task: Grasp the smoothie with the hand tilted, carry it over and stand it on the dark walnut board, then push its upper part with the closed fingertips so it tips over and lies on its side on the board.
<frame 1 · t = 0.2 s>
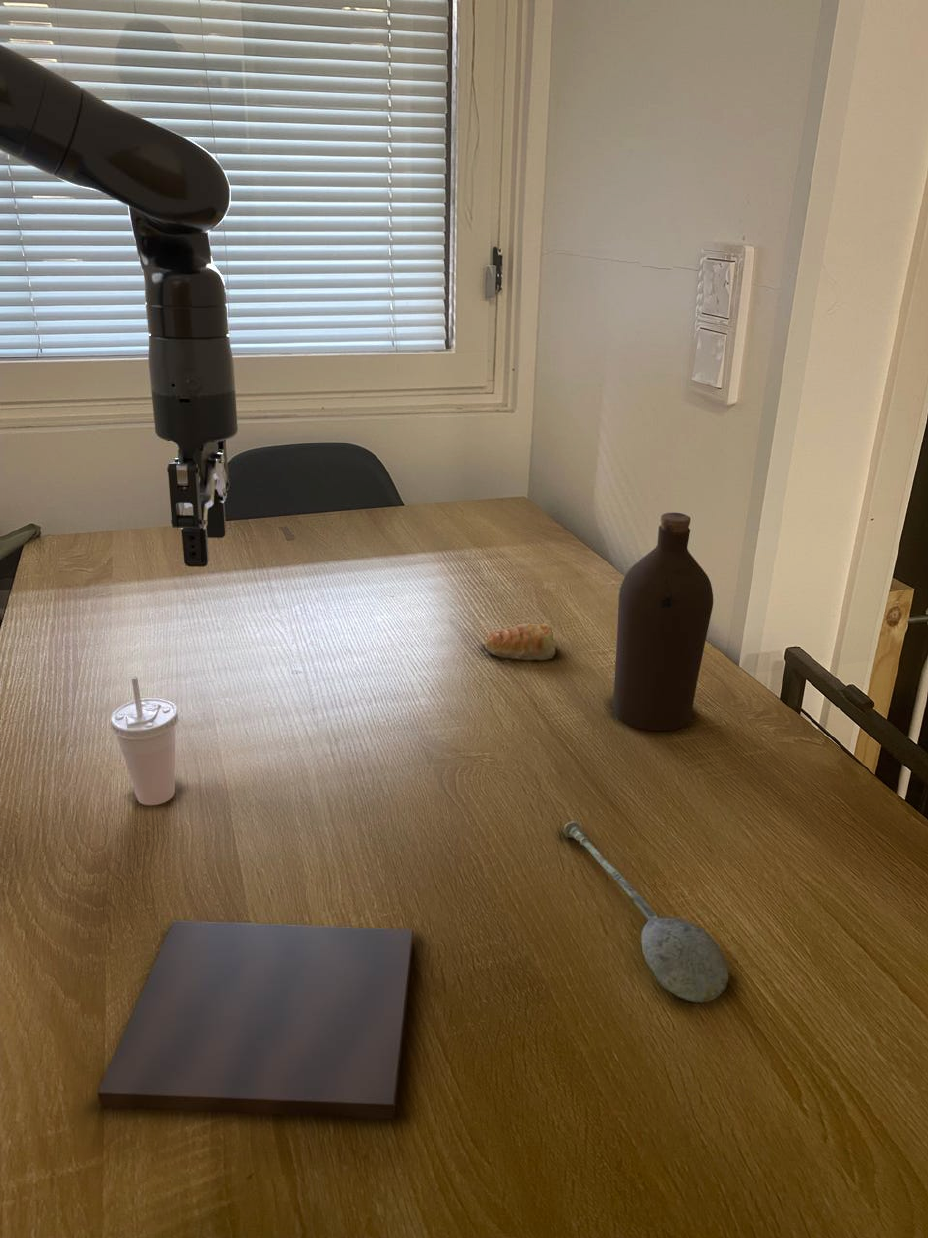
hand: (206, 550, 91), 24 cm above the table, tool pointing down, fingers open, 8 cm apart
board: (272, 1017, 69), on the table
olive oil: (651, 713, 111), on the table
pastry: (524, 653, 125), on the table
soupspoon: (632, 910, 80), on the table
smoothie: (156, 796, 94), on the table
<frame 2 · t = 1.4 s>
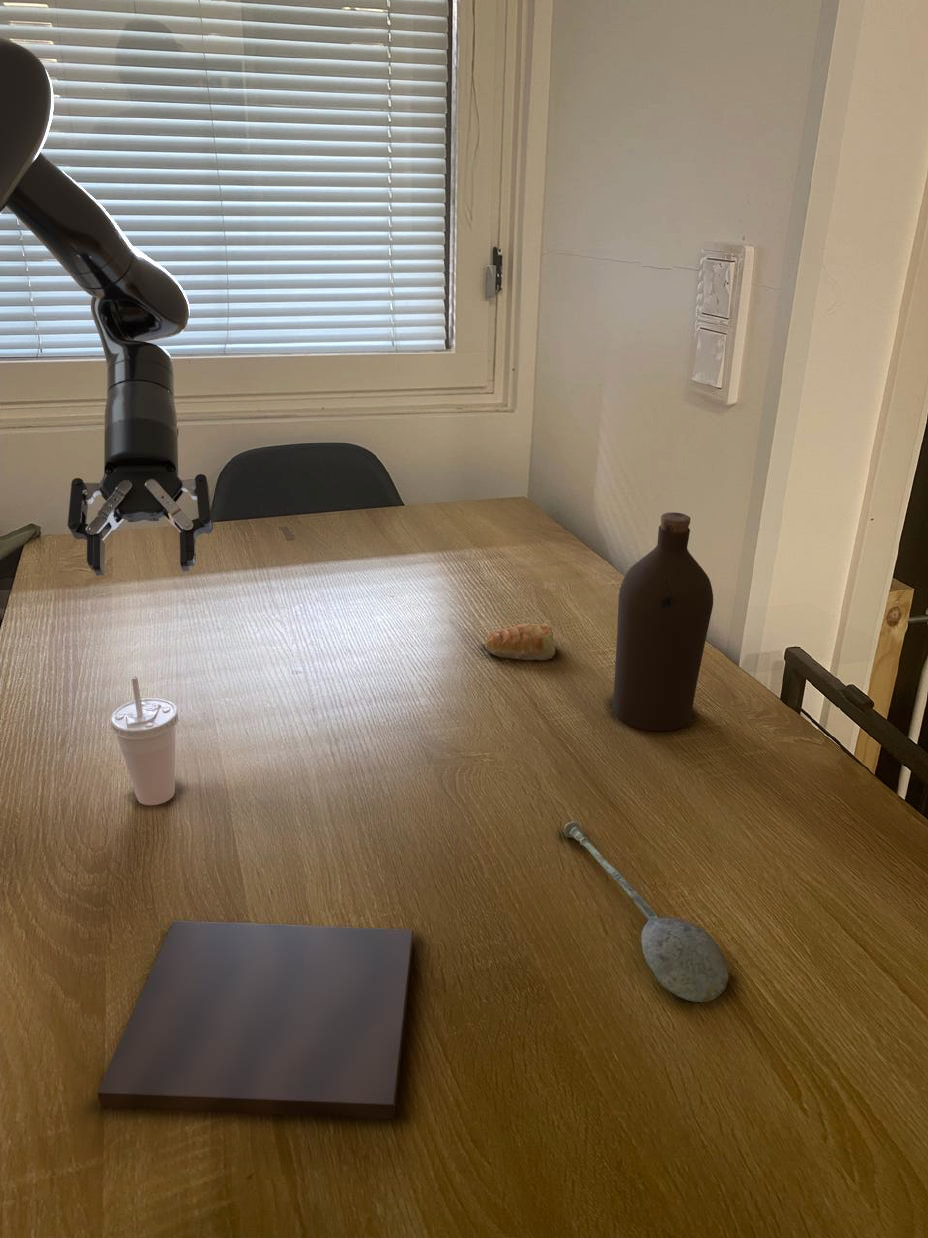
hand: (142, 570, 94), 21 cm above the table, tool tilted 45°, fingers open, 8 cm apart
nothing on the table moved.
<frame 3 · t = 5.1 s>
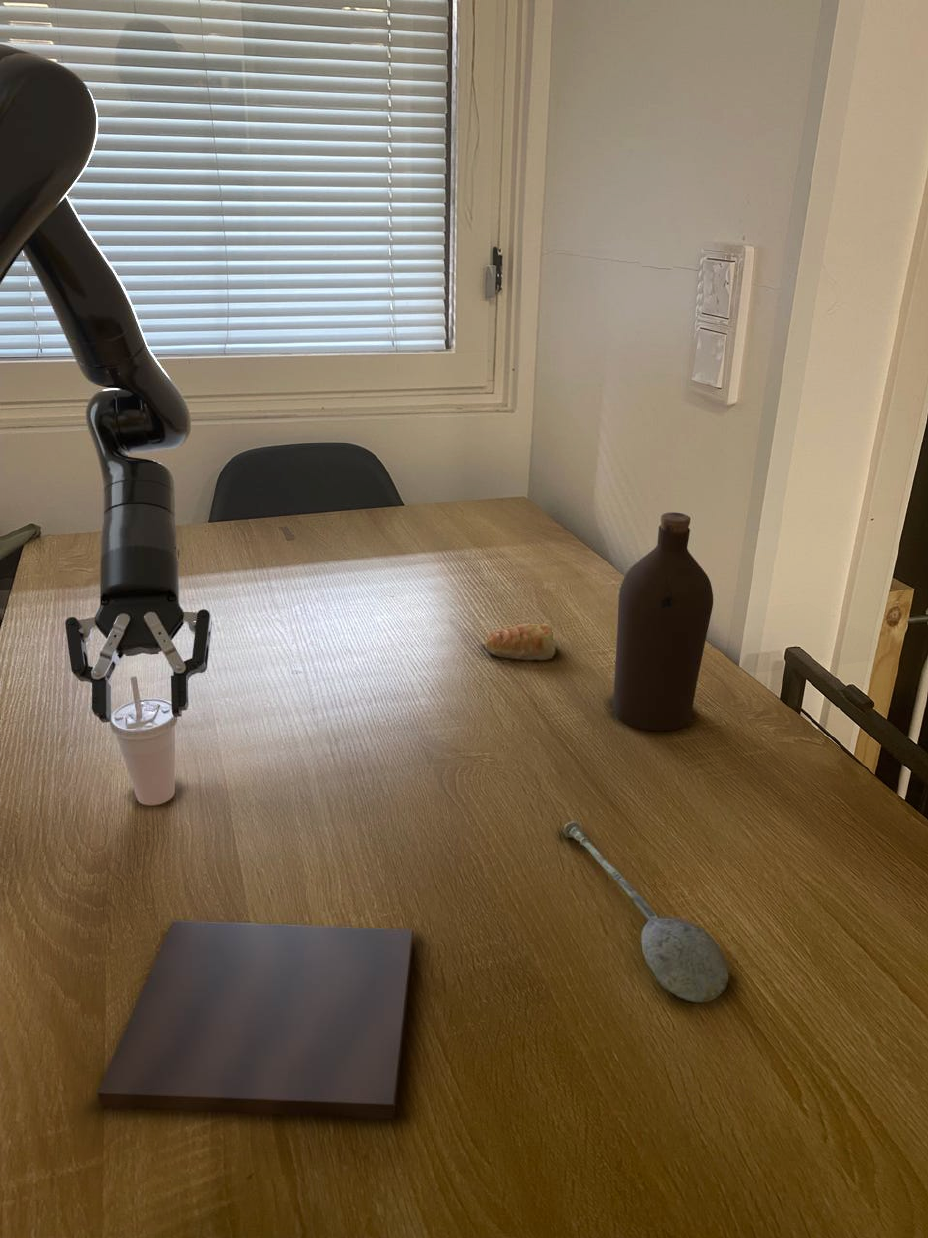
hand: (141, 717, 88), 10 cm above the table, tool tilted 45°, fingers closed on smoothie, 6 cm apart
smoothie: (156, 796, 94), on the table, touching gripper
everything else where it was.
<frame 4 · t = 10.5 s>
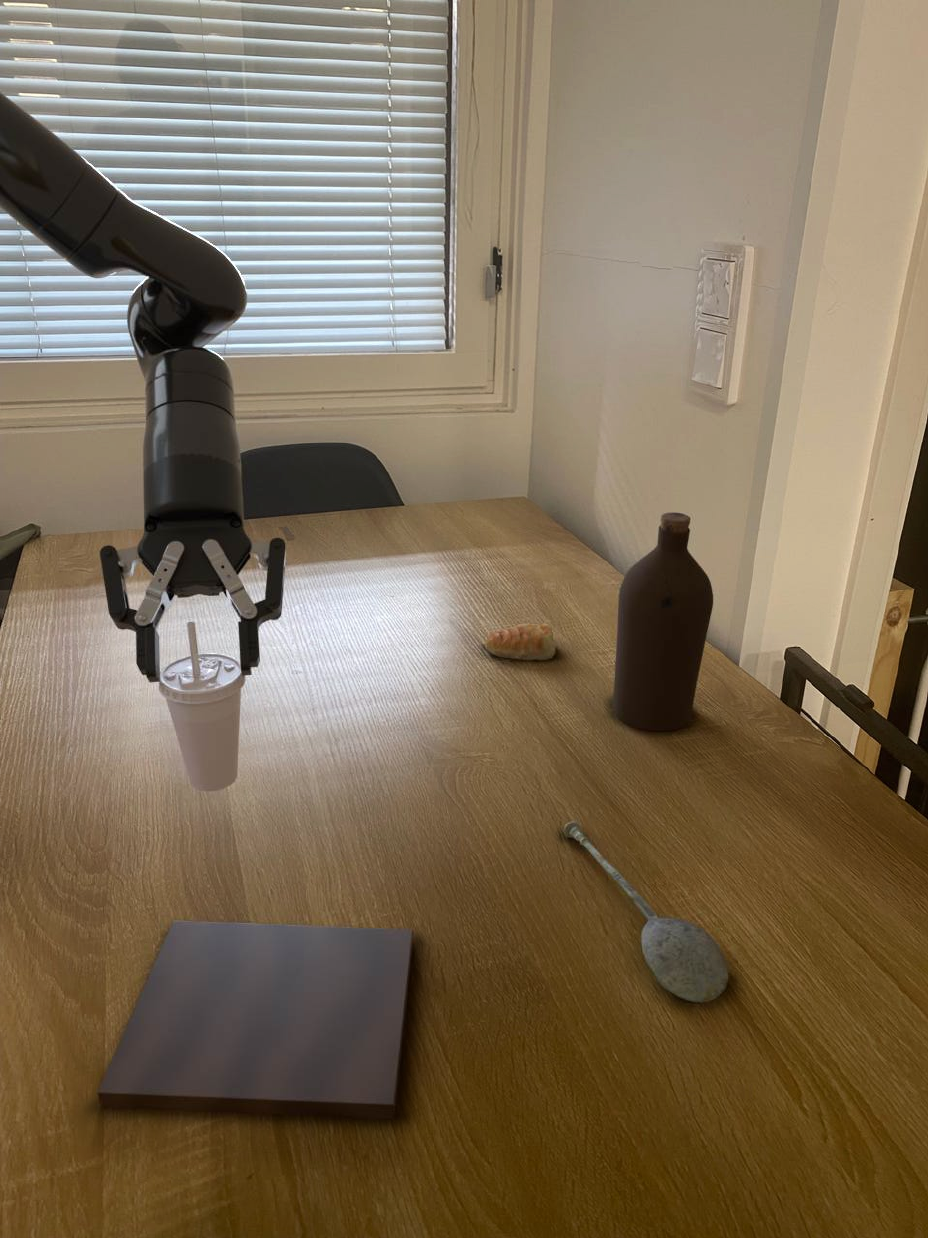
hand: (200, 675, 67), 24 cm above the table, tool tilted 45°, fingers closed on smoothie, 6 cm apart
smoothie: (214, 779, 73), point 14 cm above the table, touching gripper
everything else where it was.
when the fingers open (12 cm above the table, at t = 15.8 s): smoothie stays where it is, resting on board.
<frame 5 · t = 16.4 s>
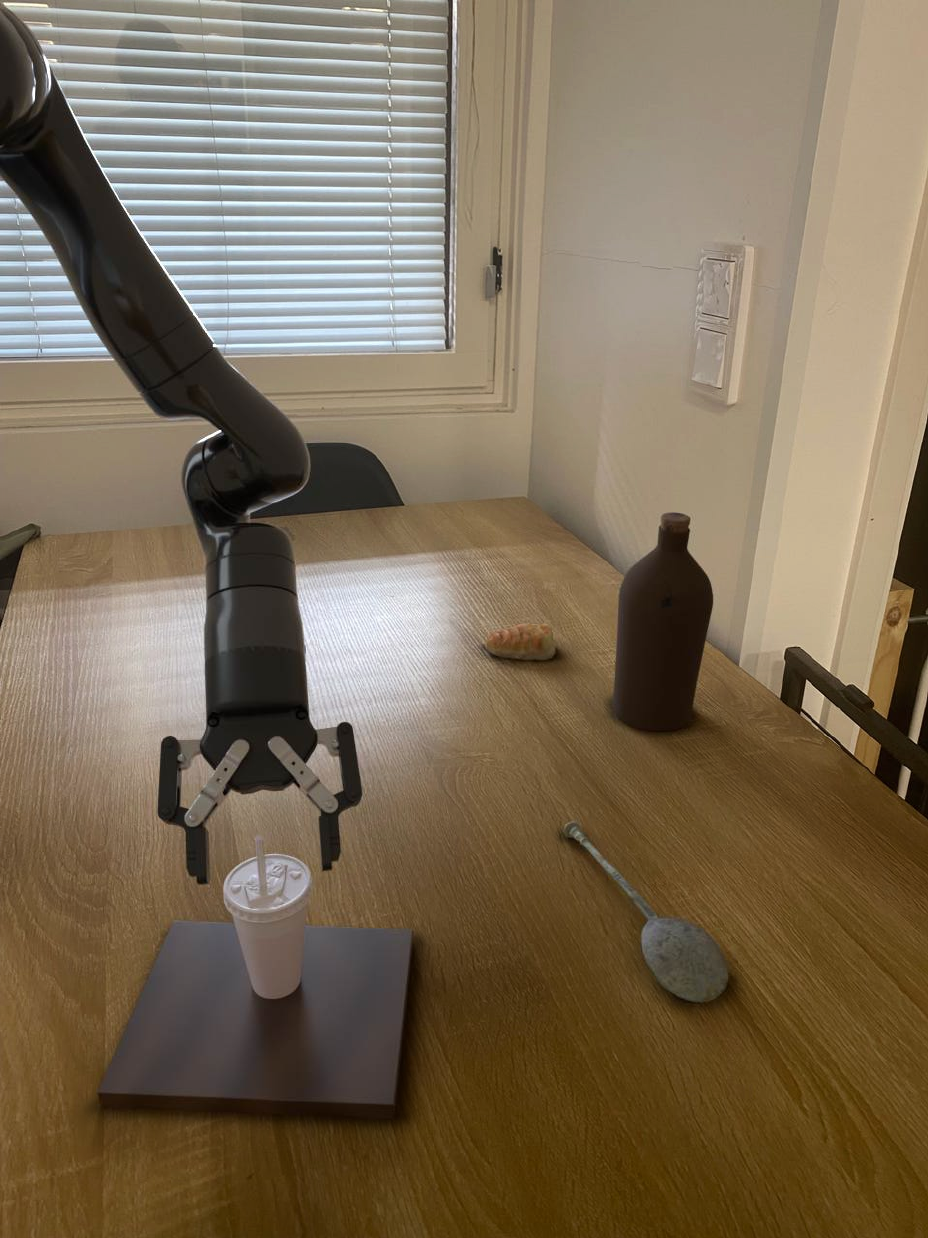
hand: (266, 877, 64), 13 cm above the table, tool tilted 45°, fingers open, 8 cm apart
smoothie: (276, 981, 70), point 1 cm above the table, touching board
everything else where it was.
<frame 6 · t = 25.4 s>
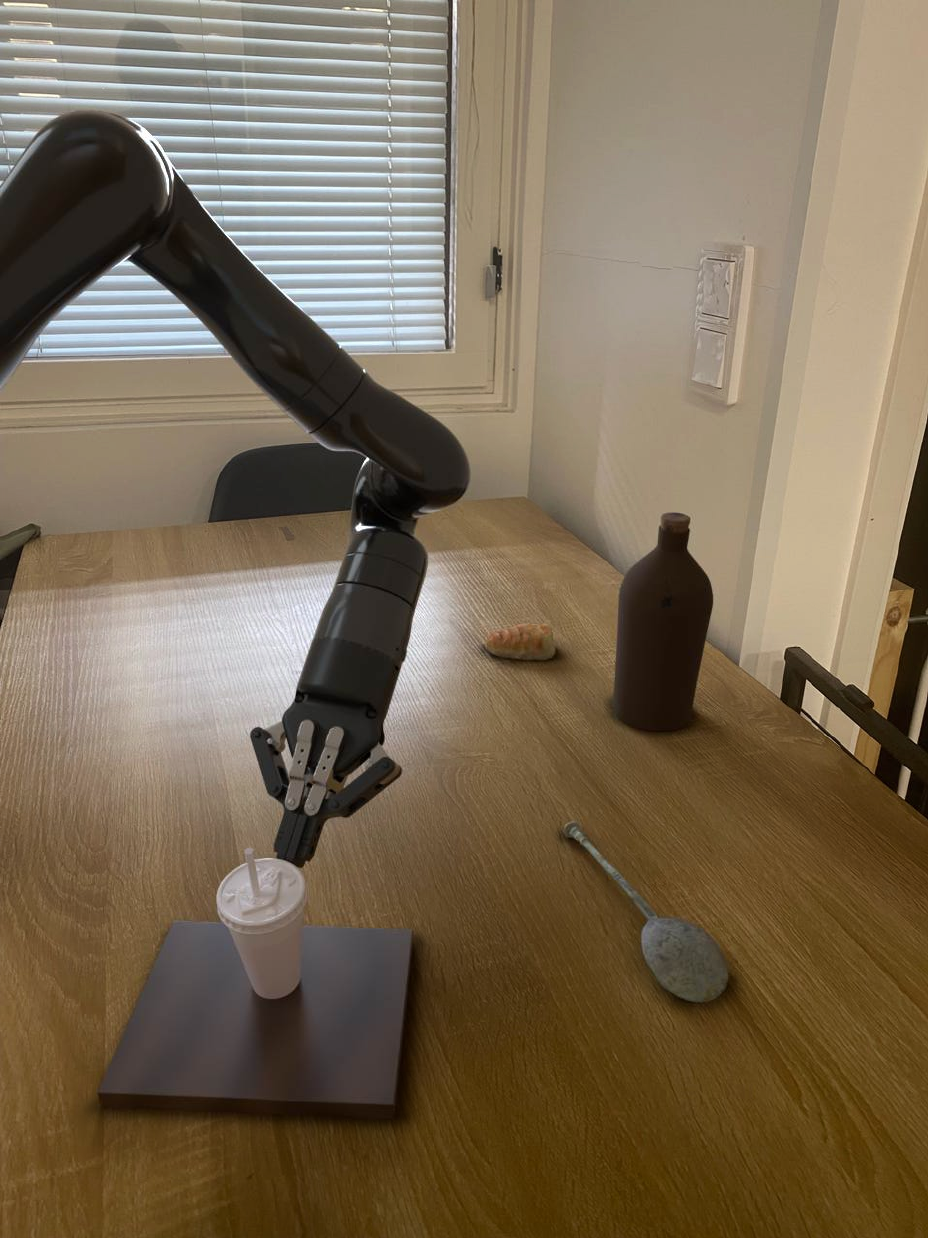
hand: (289, 864, 68), 11 cm above the table, tool tilted 45°, fingers closed
smoothie: (276, 980, 70), point 2 cm above the table, touching board, gripper
everything else where it was.
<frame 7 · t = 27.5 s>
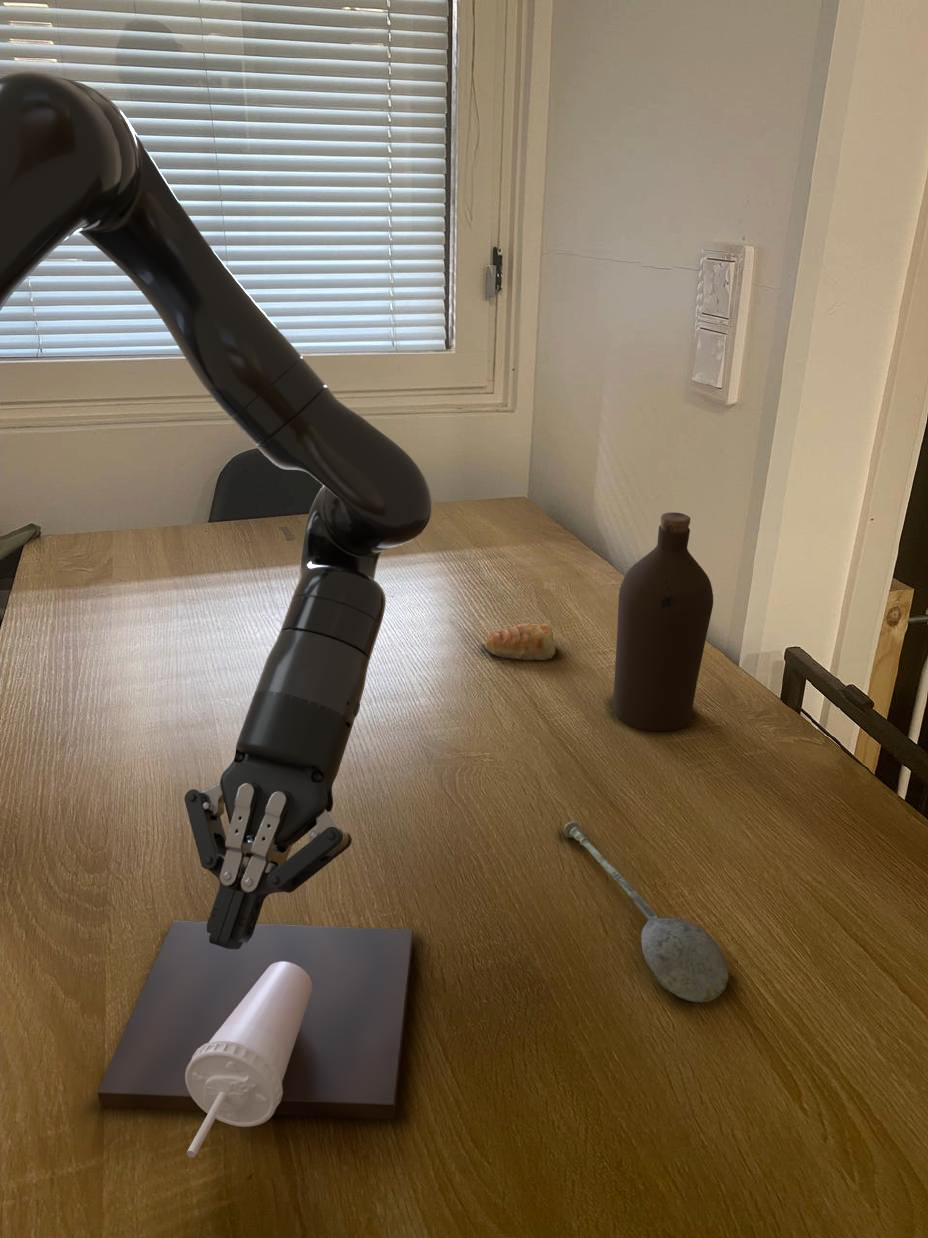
hand: (224, 946, 61), 10 cm above the table, tool tilted 45°, fingers closed
smoothie: (289, 980, 67), point 4 cm above the table, touching board
everything else where it was.
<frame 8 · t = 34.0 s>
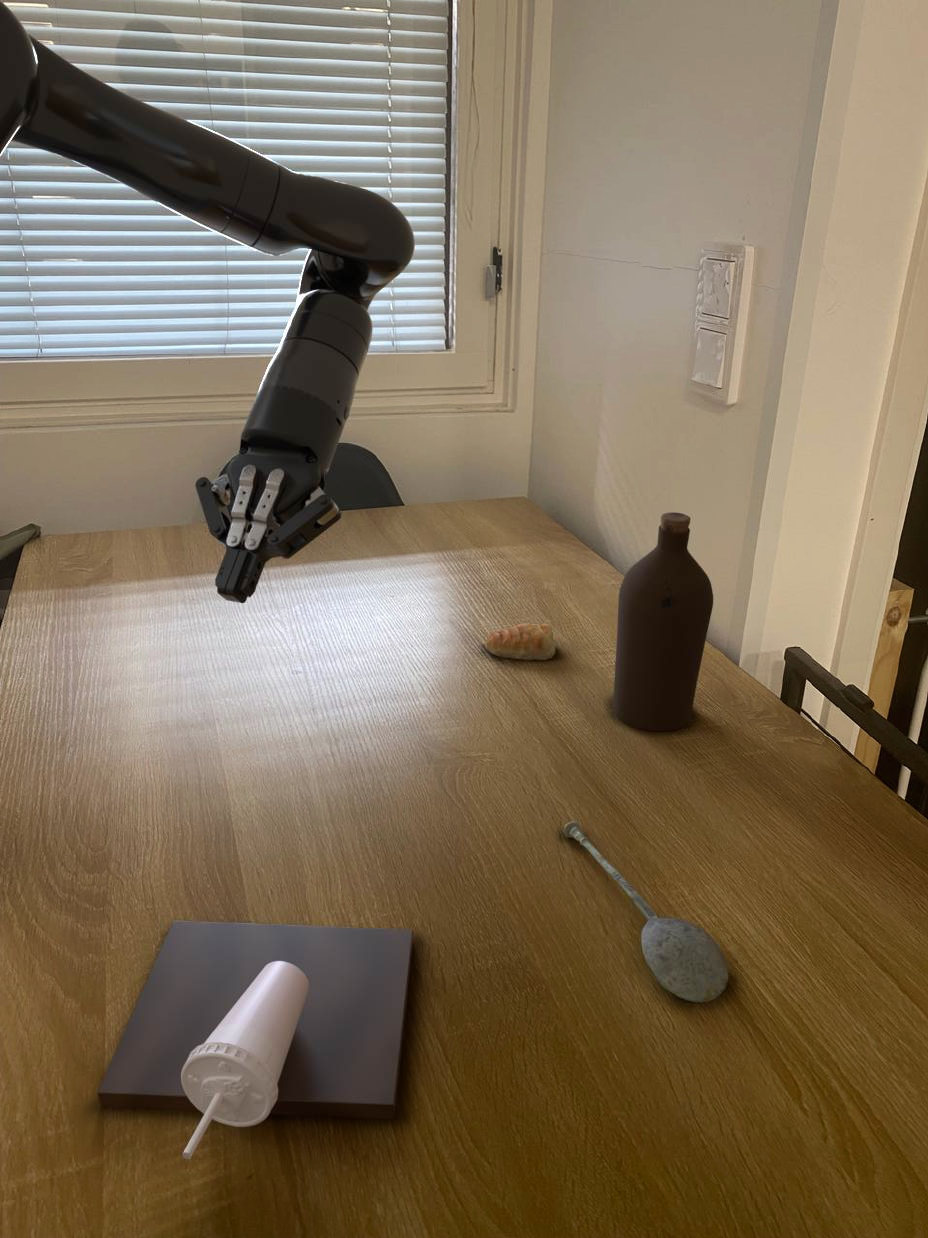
hand: (230, 598, 71), 28 cm above the table, tool tilted 45°, fingers closed
nothing on the table moved.
at the end: smoothie tilted 87°; smoothie inside the target area on the board (1.3 cm from its centre), point 4.1 cm above the board's base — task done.
